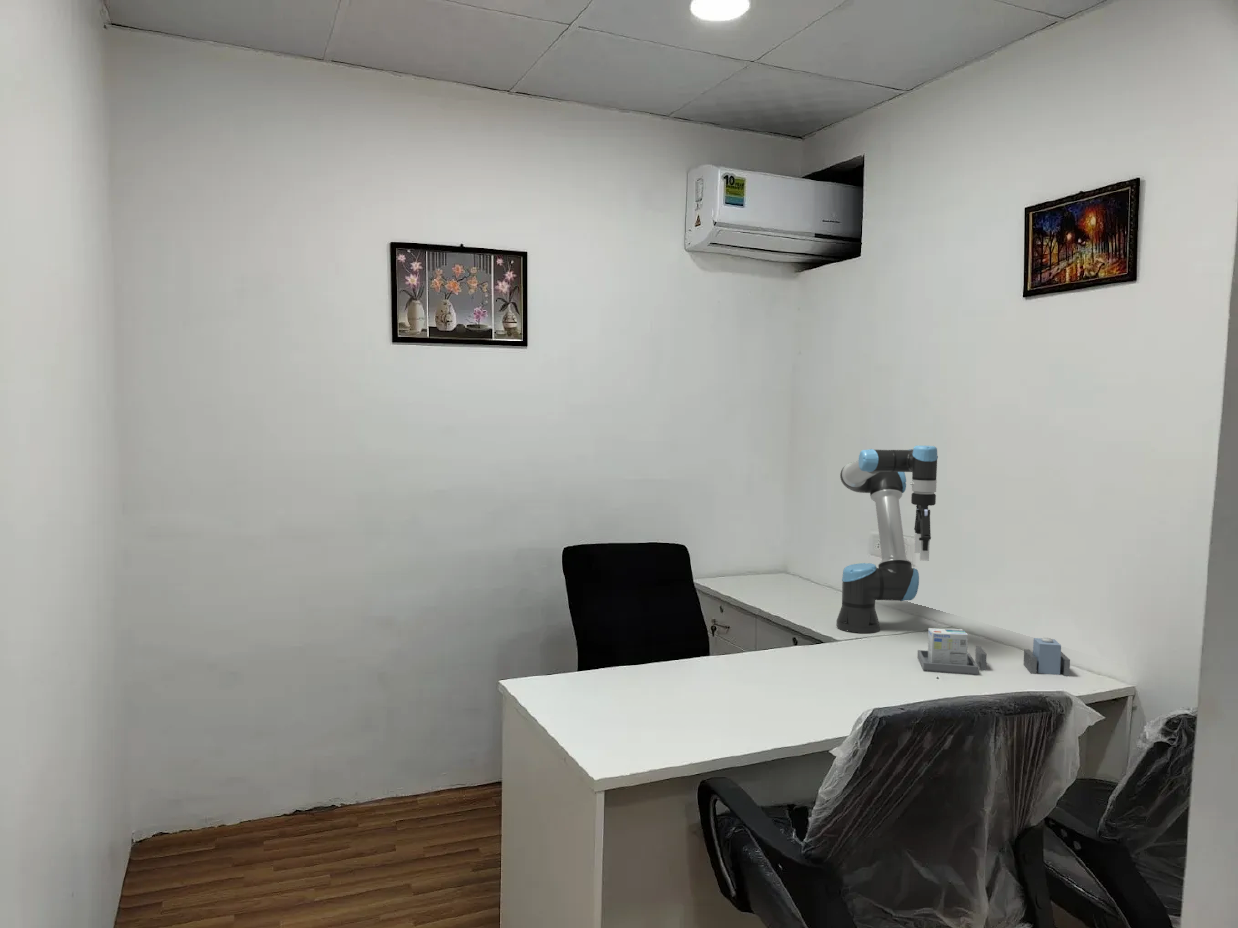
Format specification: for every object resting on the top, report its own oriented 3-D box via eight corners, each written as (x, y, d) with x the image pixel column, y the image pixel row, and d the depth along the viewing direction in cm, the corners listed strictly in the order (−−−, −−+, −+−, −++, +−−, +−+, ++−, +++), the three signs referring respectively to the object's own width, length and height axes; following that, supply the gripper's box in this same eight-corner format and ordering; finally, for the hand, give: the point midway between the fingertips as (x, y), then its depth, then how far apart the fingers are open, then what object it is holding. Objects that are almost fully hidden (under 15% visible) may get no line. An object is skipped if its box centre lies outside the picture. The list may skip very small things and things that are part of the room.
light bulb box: (961, 662, 264) (963, 628, 263) (967, 668, 257) (969, 634, 256) (926, 660, 265) (927, 627, 264) (931, 667, 259) (932, 632, 258)
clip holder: (975, 661, 267) (975, 645, 266) (1060, 667, 261) (1061, 651, 261) (980, 669, 258) (981, 653, 258) (1069, 676, 252) (1070, 659, 252)
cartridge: (1032, 666, 262) (1033, 635, 261) (1053, 667, 261) (1054, 636, 260) (1038, 672, 255) (1039, 641, 255) (1059, 674, 254) (1061, 642, 253)
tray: (917, 657, 270) (917, 649, 270) (969, 661, 267) (969, 653, 267) (923, 671, 256) (923, 663, 256) (978, 675, 253) (978, 666, 252)
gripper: (907, 488, 289) (905, 549, 290) (916, 496, 264) (914, 562, 266) (930, 489, 287) (928, 550, 289) (941, 497, 263) (939, 564, 264)
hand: (921, 556), depth 277 cm, fingers open, 13 cm apart
